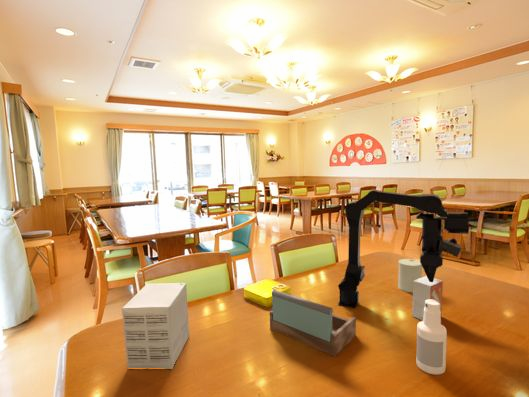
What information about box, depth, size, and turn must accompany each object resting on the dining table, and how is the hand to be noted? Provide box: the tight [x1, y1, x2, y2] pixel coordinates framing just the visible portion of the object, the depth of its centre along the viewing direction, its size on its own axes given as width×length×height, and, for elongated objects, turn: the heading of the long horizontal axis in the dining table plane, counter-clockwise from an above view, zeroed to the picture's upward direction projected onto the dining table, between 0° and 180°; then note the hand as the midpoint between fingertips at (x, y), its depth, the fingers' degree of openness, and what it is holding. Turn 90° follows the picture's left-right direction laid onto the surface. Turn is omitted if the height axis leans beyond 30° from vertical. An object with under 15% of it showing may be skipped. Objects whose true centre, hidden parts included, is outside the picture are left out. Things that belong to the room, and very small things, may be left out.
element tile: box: [243, 278, 292, 308], centre depth 129 cm, size 15×15×5 cm
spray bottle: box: [415, 299, 448, 376], centre depth 82 cm, size 7×7×18 cm
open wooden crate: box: [269, 309, 357, 357], centre depth 101 cm, size 14×24×6 cm, turn 49°
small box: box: [411, 275, 444, 321], centre depth 108 cm, size 8×6×13 cm
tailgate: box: [271, 290, 334, 342], centre depth 96 cm, size 2×21×10 cm, turn 49°
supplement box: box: [121, 282, 190, 370], centre depth 92 cm, size 17×13×18 cm
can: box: [397, 258, 423, 294], centre depth 132 cm, size 9×9×12 cm
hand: (431, 277), depth 106 cm, fingers open, 9 cm apart
